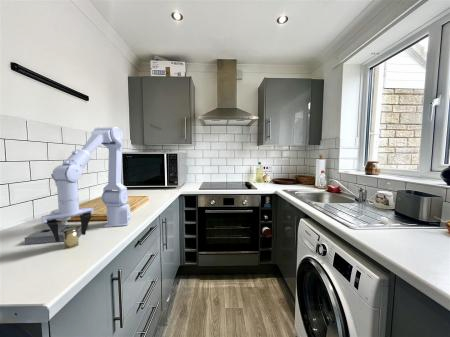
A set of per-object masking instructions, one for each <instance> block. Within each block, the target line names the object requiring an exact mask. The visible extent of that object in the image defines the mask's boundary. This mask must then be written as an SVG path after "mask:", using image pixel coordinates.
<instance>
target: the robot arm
mask: <svg viewBox="0 0 450 337" xmlns="http://www.w3.org/2000/svg"><path fill="white" fill-rule="evenodd" d="M123 135H124V133H123V131H122V130H121V129H120V128H119V126H108V127H107V126H106V127H105V126H103V127H99V126H97V127H94V129H93V130H92V131H91V136H90V137H89V138H88V140H87V141H86V142H85V143H84V144H83V146H82V147H81V148H80V149H76V150H72V152H71V154H70V156H68V157H67V159H66V160H64V161H63V163H62V164H60V165H57V166H56V167H55V168H54V169H53V170H52V173H51V174H50V175H51V179H52V180H53V181H54V182H55V183H54V184H55V187H56V189H57V191H56V192H57V194H56V195H57V206H58V207H57V209H59V212H58V213H54V214H51V213H50V214H47V215H42V216H41V223H42V224H46V226H49V227H50V229H51V231H52V233H53V235H54V237H55V241H56V242H55V243H58V242H59V235H58V225H59V223H58V220H59V219H64V218H69V217H71V218H74V217H79V218H80V219H79V220H80V224H81V233H82V236H85V235H87V234H86V232H87V231H86V229H87V226H89V222H90V220H91V218H92V214H94V213H95V210H94V209H95V208H94V207H93V206H92V207H84V208H83V207H82V208H80V202H79V201H80V200H79V186H78V181H79V180H80V179H81V178H82V173H83V171H84V168H85V167H86V166H87V165H88V163H89V162H90V161H91V155H92V154H93V153H94V152H95V151H96V150H97V149H98V148H99V147H100V146H101V145H102V146H104V147H106V148H107V149H108V166H107V167H108V170H107V171H108V172H107V174H108V176H107V178H108V179H107V185H105V186H104V187H103V188H102V189H103V191H102V194H101V201H102V203H103V204H104V206H106V218H107V220H106V221H107V223H106V224H104V225H103V226H104V228H105V227H106V228H109V227H123V226H128V225H129V223H130V222H131V220H132V219H131V205H130V204H129V203H127V202H128V200H129V194H128V188H127V186H126V185H124V184H122V177H123V176H122V173H123V172H122V171H123V168H122V167H123V166H122V165H123V164H122V163H123V140H124V139H123Z"/></svg>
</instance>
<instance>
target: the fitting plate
mask: <svg viewBox="0 0 450 337" xmlns="http://www.w3.org/2000/svg"><path fill="white" fill-rule="evenodd" d="M73 227H76V228H78V238H80V237H81V236H83V234H82V233H81V223H71V224H58V235H59V242H64V233H63V231H64V230H65V229H68V228H73ZM89 227H90V226H89V225H88V226H87V229H86V232H87V231H88V230H89V229H90V228H89ZM48 243H49V244H50V243H57V242H56V241H55V237H54V235H53V233H52V231H51V229H50V227H49V226H48V225H45V226H44V227H42V228H40V229H37V230H36V231H34V232H33V233H30V234H29V235H27V236H25V237H24V245H25V246H26V245H34V244H35V245H36V244H38V245H39V244H48Z"/></svg>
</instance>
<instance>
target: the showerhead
mask: <svg viewBox="0 0 450 337" xmlns="http://www.w3.org/2000/svg"><path fill="white" fill-rule="evenodd" d="M58 212H59V208H56V209H54V210H51V211H50V214H54V213H58ZM71 218H72V217H69V218H64V219H59V220H57V222H61V225H68V223H69V222H68V220H69V221H70V220H71Z"/></svg>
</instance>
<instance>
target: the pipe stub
mask: <svg viewBox="0 0 450 337" xmlns="http://www.w3.org/2000/svg"><path fill="white" fill-rule="evenodd" d="M63 233H64V241H63V243H64V245H63V246H64V249H73V248H76V247H77V246H80V245H79V237H78V228H76V227H73V228H68V229H65V230H64V231H63Z"/></svg>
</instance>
